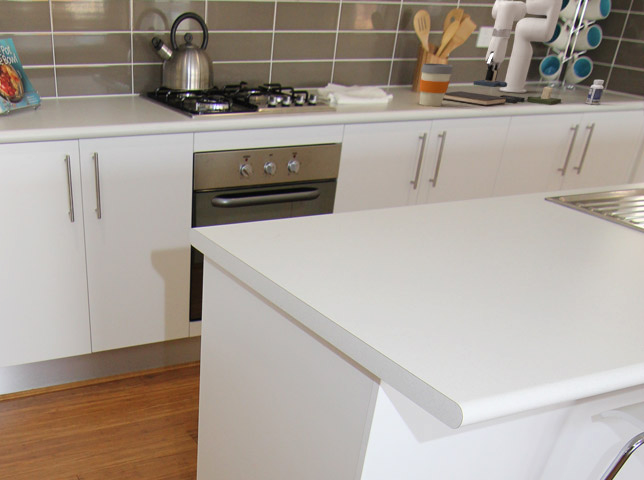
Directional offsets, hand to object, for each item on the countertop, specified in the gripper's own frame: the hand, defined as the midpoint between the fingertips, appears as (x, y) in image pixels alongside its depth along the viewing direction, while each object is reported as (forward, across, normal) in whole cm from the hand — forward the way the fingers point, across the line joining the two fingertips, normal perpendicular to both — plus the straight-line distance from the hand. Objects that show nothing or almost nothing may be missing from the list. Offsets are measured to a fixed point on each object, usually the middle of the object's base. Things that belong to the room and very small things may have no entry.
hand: (490, 79), depth 330 cm
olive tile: (+8, -12, +21) cm, 25 cm away
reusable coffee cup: (+8, +45, -4) cm, 46 cm away
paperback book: (+8, +18, +2) cm, 20 cm away
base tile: (+8, 0, +10) cm, 13 cm away
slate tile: (+2, 0, +1) cm, 3 cm away
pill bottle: (+8, -28, +38) cm, 48 cm away
